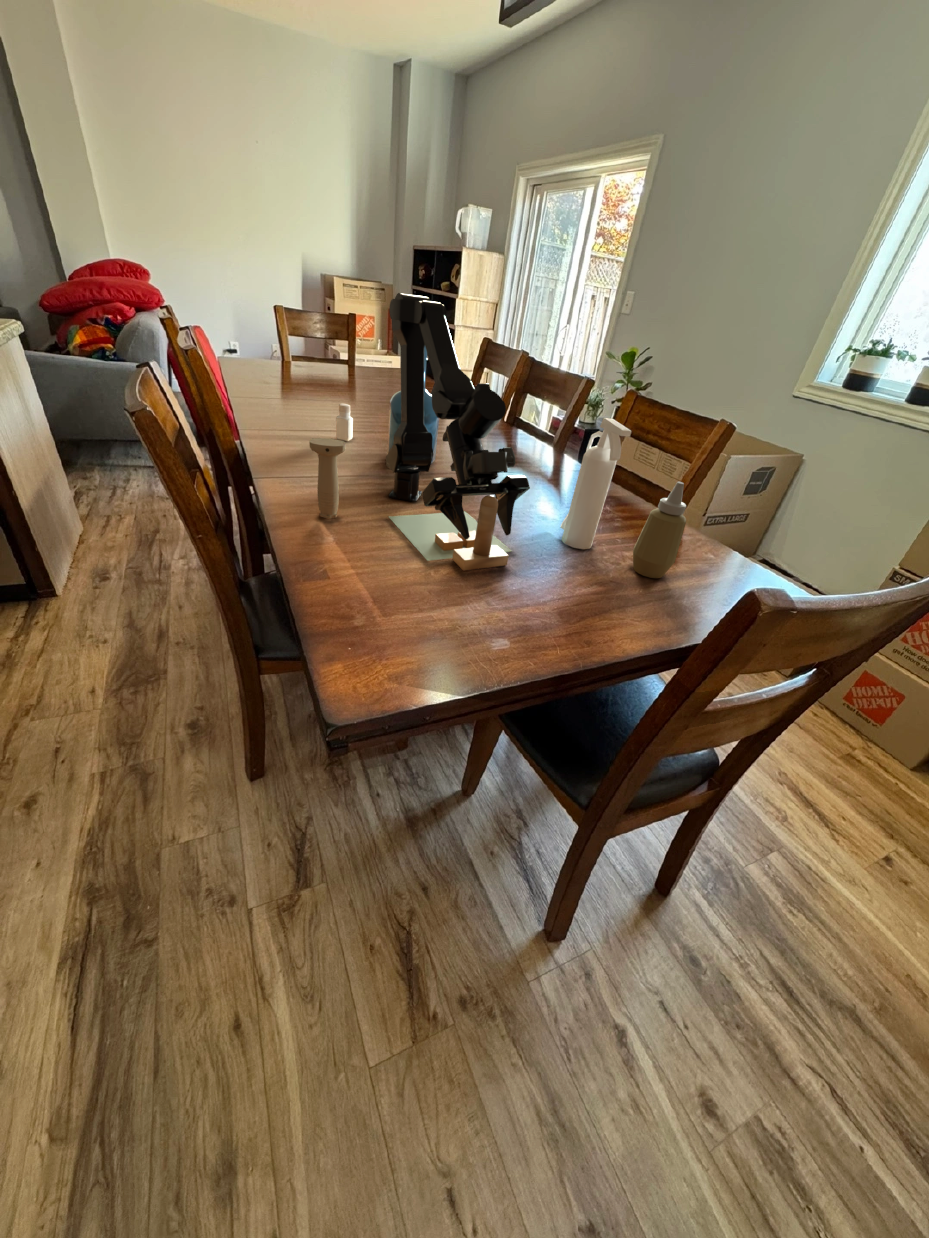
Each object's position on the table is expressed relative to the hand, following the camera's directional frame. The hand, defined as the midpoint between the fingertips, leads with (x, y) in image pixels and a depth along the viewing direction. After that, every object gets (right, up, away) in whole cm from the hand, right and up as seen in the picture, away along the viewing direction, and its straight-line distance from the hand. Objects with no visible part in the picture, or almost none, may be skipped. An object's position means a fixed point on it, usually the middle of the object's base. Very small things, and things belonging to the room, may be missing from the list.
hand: (488, 536), depth 88 cm
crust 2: (-3, +1, +11) cm, 11 cm away
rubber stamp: (-1, -5, +5) cm, 7 cm away
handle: (-31, +6, +14) cm, 34 cm away
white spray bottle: (+19, +2, +21) cm, 29 cm away
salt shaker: (-39, +38, +62) cm, 83 cm away
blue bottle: (-19, +30, +54) cm, 64 cm away
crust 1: (-7, 0, +9) cm, 11 cm away
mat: (-7, +2, +14) cm, 16 cm away
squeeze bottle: (+32, -5, +13) cm, 35 cm away
